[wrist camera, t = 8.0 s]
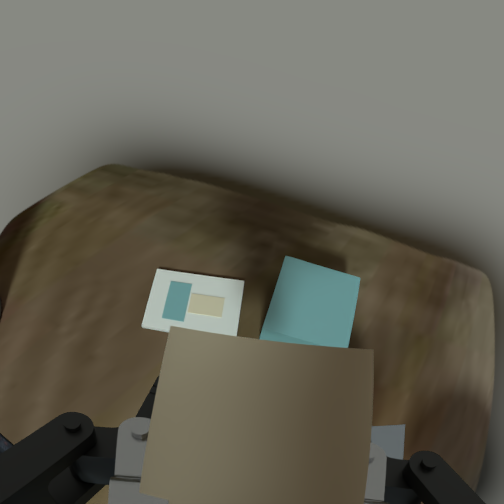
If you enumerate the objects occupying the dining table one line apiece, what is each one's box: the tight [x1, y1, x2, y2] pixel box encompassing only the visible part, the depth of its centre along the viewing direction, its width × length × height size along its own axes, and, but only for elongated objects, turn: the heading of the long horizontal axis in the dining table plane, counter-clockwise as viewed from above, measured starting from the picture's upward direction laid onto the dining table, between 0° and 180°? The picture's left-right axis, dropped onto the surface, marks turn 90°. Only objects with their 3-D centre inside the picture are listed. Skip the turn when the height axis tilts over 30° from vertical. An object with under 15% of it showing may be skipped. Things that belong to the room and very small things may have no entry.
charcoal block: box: [371, 424, 405, 460], centre depth 21 cm, size 4×4×10 cm
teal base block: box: [260, 256, 360, 348], centre depth 31 cm, size 8×8×5 cm
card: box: [142, 269, 244, 336], centre depth 33 cm, size 10×7×1 cm
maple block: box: [139, 326, 374, 504], centre depth 9 cm, size 4×4×10 cm
